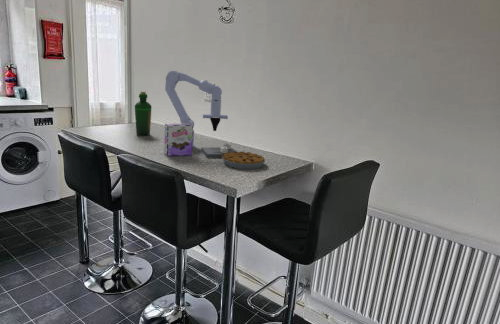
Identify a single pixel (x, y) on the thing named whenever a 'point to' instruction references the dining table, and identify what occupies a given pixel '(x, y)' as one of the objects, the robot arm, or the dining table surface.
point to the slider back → (227, 145)
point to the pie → (243, 160)
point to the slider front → (224, 149)
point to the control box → (214, 152)
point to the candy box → (178, 139)
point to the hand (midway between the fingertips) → (214, 130)
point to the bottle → (143, 115)
